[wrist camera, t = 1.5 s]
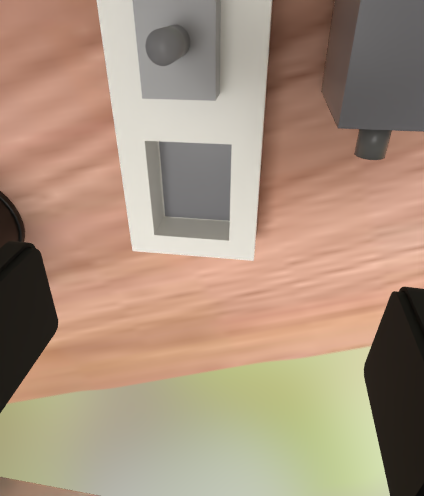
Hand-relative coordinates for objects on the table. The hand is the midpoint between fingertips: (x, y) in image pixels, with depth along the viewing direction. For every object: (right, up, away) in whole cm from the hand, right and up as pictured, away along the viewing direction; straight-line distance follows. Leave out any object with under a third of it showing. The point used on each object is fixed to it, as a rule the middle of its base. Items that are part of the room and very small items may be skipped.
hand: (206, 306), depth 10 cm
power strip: (-1, +11, +18) cm, 22 cm away
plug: (+10, +15, +14) cm, 23 cm away
